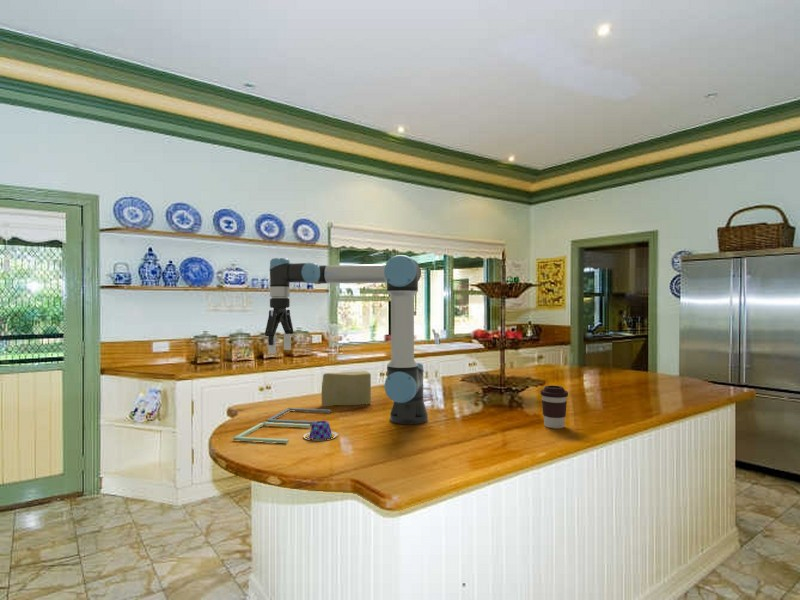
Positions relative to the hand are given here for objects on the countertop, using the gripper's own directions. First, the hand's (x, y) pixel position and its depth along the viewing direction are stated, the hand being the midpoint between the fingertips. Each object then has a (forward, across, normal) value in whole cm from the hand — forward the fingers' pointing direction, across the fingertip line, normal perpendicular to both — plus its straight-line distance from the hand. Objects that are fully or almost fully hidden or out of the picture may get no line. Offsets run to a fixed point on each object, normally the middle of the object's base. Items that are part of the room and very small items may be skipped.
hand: (279, 351), depth 183 cm
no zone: (+28, -9, +5) cm, 30 cm away
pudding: (+28, +15, +22) cm, 39 cm away
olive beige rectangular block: (+28, -36, +16) cm, 48 cm away
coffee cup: (+28, -13, +105) cm, 110 cm away
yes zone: (+28, +15, +5) cm, 32 cm away
